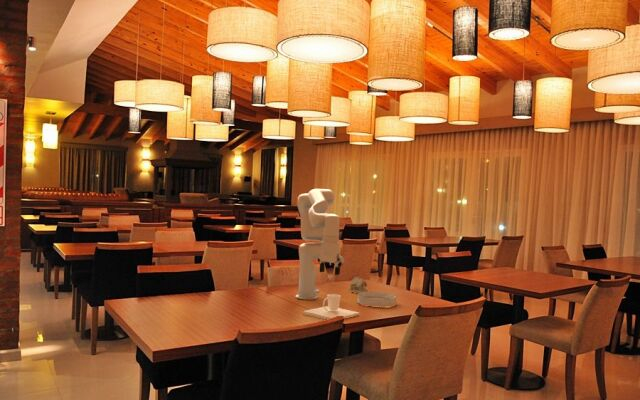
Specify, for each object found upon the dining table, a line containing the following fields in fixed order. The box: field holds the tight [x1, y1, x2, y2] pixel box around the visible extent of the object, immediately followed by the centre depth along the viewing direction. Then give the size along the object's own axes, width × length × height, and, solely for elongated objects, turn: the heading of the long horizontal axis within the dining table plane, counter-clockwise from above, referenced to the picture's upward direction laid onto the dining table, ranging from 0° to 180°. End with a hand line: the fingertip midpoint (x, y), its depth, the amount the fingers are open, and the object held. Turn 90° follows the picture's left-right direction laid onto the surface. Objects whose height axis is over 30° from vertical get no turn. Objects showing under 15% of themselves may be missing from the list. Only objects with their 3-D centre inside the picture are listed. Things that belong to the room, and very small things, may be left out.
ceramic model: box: [348, 275, 369, 293], centre depth 326 cm, size 14×11×10 cm
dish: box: [356, 291, 397, 307], centre depth 294 cm, size 22×22×5 cm
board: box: [302, 305, 360, 321], centre depth 261 cm, size 20×20×2 cm
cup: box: [322, 293, 342, 312], centre depth 262 cm, size 7×10×8 cm
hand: (329, 273), depth 263 cm, fingers open, 9 cm apart
